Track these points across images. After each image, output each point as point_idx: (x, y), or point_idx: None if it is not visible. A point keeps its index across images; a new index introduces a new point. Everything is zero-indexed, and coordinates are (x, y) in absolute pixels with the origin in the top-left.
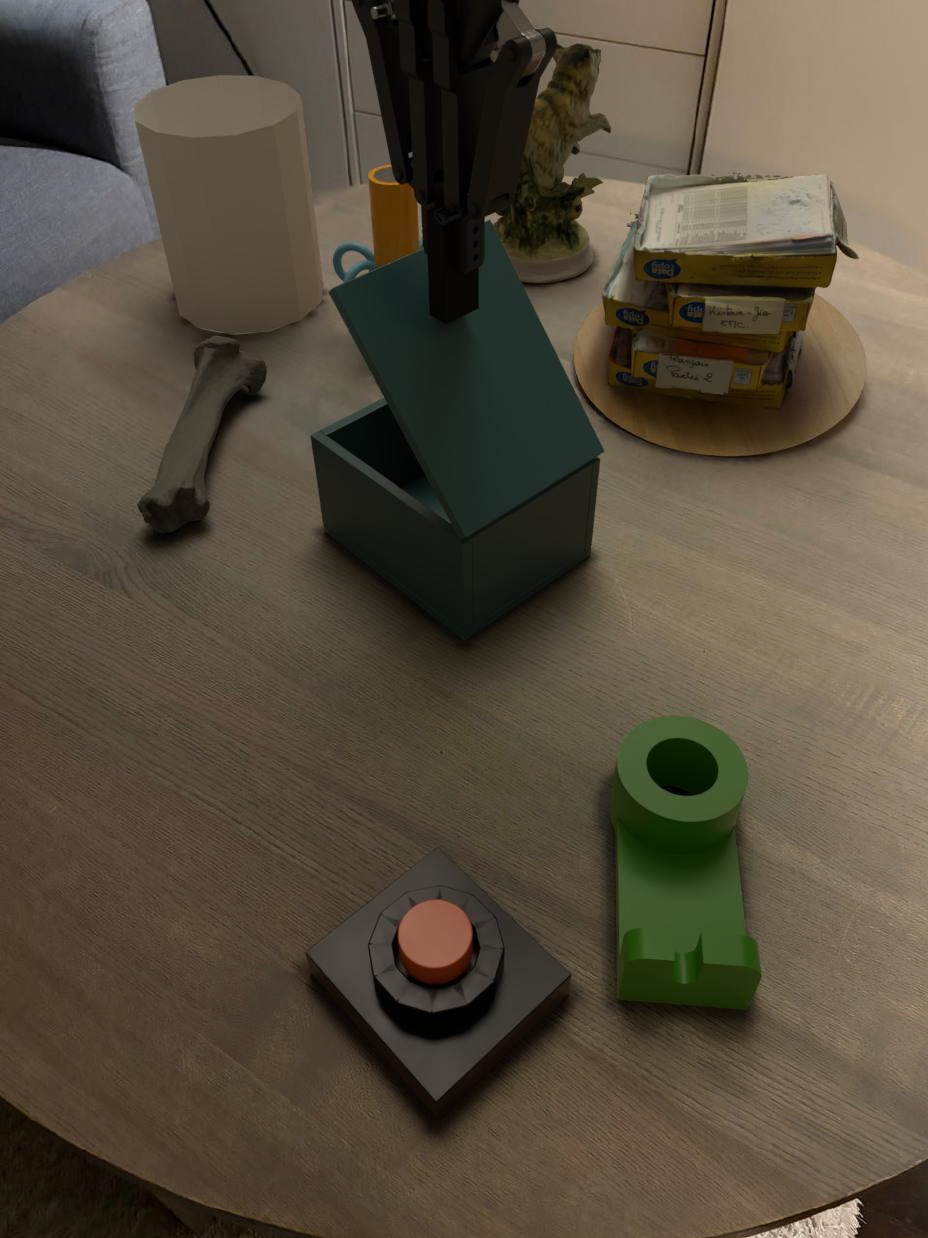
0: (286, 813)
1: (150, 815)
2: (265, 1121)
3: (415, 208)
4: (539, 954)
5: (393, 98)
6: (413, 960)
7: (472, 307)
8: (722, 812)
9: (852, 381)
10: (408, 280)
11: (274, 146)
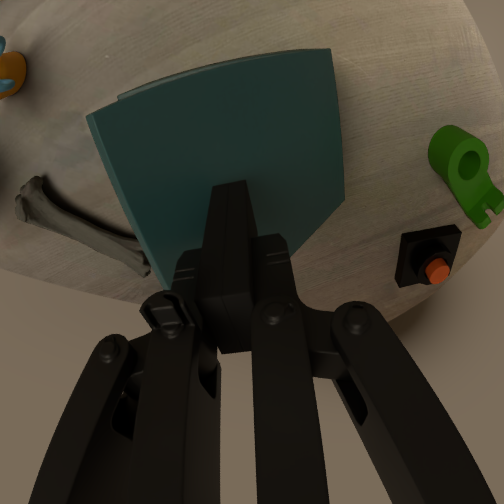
0: (344, 265)
1: (310, 298)
2: (411, 296)
3: None
4: (452, 236)
5: (125, 501)
6: (439, 282)
7: (248, 193)
8: (486, 170)
9: None
10: None
11: None
